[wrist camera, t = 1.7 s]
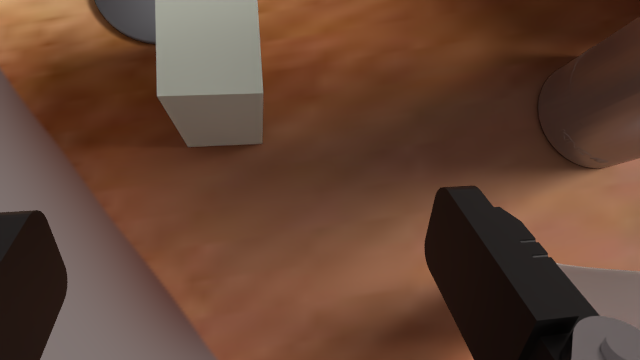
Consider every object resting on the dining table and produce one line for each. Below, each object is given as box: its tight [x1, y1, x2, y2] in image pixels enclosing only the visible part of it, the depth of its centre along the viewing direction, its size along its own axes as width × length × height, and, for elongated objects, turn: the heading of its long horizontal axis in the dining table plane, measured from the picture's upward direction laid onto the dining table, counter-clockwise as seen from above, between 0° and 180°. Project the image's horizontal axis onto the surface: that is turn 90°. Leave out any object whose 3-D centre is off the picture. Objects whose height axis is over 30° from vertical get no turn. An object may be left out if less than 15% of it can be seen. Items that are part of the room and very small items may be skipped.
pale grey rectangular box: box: [155, 0, 263, 147], centre depth 29 cm, size 8×5×10 cm, turn 5°
